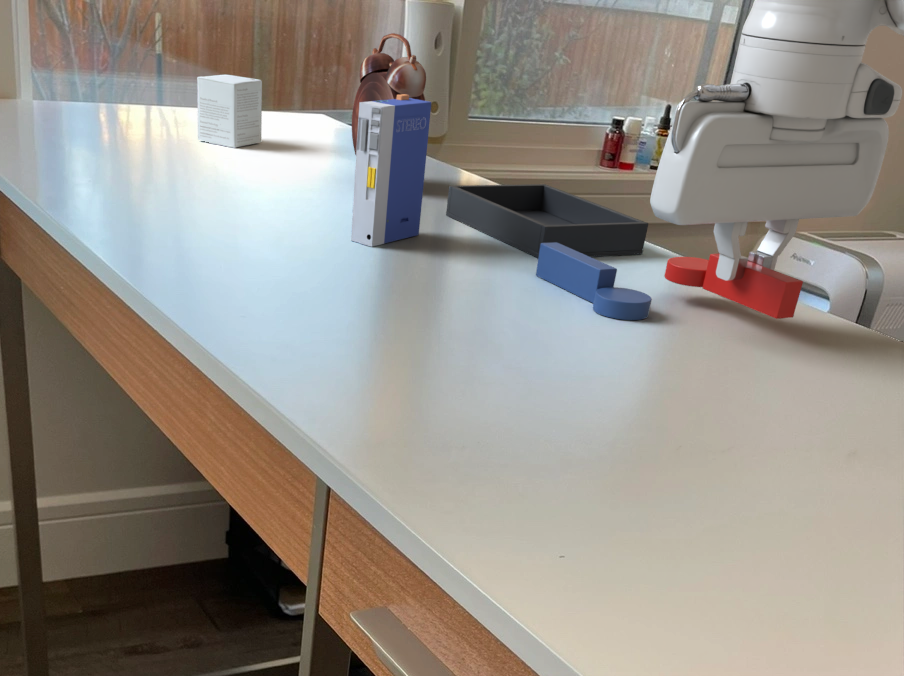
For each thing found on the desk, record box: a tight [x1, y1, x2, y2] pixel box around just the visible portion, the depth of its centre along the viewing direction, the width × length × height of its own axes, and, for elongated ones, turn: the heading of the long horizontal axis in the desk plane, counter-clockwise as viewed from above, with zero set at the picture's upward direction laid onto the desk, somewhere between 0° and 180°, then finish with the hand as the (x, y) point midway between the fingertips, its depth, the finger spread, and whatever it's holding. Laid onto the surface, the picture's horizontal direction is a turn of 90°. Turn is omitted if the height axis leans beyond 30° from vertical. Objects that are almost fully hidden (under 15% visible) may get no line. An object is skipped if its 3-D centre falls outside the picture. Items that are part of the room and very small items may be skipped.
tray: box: [445, 183, 649, 259], centre depth 114 cm, size 18×12×3 cm
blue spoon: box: [535, 242, 653, 321], centre depth 95 cm, size 14×5×3 cm, turn 26°
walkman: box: [350, 94, 432, 247], centre depth 104 cm, size 8×3×12 cm, turn 143°
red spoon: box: [663, 252, 804, 320], centre depth 92 cm, size 14×5×3 cm, turn 26°
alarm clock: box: [351, 33, 427, 156], centre depth 126 cm, size 11×5×15 cm, turn 28°
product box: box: [196, 74, 263, 149], centre depth 143 cm, size 6×6×7 cm
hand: (743, 277), depth 91 cm, fingers closed on red spoon, 2 cm apart
